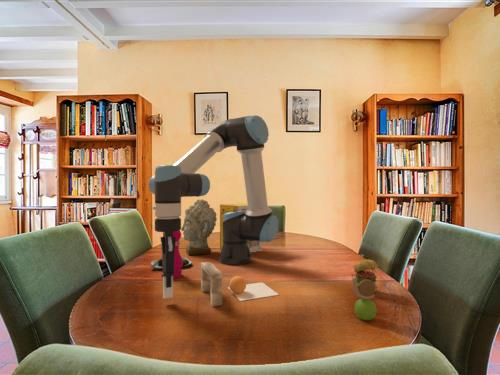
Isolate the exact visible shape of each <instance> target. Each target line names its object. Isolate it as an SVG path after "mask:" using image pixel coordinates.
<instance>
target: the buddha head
mask: <svg viewBox="0 0 500 375" xmlns="http://www.w3.org/2000/svg"><path fill="white" fill-rule="evenodd" d="M210 206H211V205H210V204H209V203H208V201H207V200H204V199H197V200H196V201H195V202H194V204H193V205H189V207H188V208H186V209H185V211H184V213H185V214H184V215H185V216H184V219H183V224H182V225H181V230H180V231H182V232H183V233H182V234H183V239H184V241H187V242H188V243H189V244H186V245H185V246H186V248H185V252H186V254H187V255H188V256H196V255H210V254H212V248H210V246H209V244H208V238H210V236H211V235H212V234H213V231H214V229H215V227H216V224H217V223H216V222H217V220H218V218H217V213H216V211H215V209H214V208H213V207H210Z"/></svg>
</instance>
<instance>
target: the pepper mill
mask: <svg viewBox="0 0 500 375" xmlns="http://www.w3.org/2000/svg"><path fill="white" fill-rule="evenodd" d="M173 236H174V237H175V238H176V243H175V245H176V247H175V257H174V275H173V279H179V278H180V277H182V274H183V273H182V272H183V271H182V269H181V268H182V266H183V261H182V258H183V257H182V256H181V254H180V247H179V246H180V245H181V243H180V242H181V241H180V239H181V238H182V232H181V230H179V231H174V232H173Z"/></svg>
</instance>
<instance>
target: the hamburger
mask: <svg viewBox="0 0 500 375" xmlns="http://www.w3.org/2000/svg"><path fill="white" fill-rule="evenodd" d="M364 256H365V255H364V254H362V253H360V257H361V259H362V260H360V261H358V262H357V263H356V264H355V265H354V267H353V268H354V269H353V270H354V271H353V272H354V273H355V274H354V276H355V278H356V279H357V286H358V284H359V283H360V282H361V281H362V280H365V279H367V280H371V281H372V282H373V283H374V285H375V292H374V293H373V294H375V293H376V291H378V285H377V284H376V283H377V278H378V275H376V274H375V272H376V269H377V268H379V265H378V263H377V262H376V261H375V260H373V259H363V257H364Z"/></svg>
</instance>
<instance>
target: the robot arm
mask: <svg viewBox="0 0 500 375" xmlns="http://www.w3.org/2000/svg"><path fill="white" fill-rule="evenodd" d="M269 135H270V134H269V128H268V125H267V123H266V121H265V120H264V119H263V117H261V116H260V115H246V116H242V117H241V116H239V117H236V118H229V119H226V120H224V121H222V122H220V123H219V124H217V125H215V126H214V127H212V129H210V130H208V132H206V133H205V135H204V137H203V139H202V140H201V141H199V143H197V144H196V145H195V146H194V147H192V148H191V149H190V150H189V151H188V152H187V153H186V154H184V155H183V156H182V157H181V158H180V159H179V160H177V161H176V162H175V163H173V164H172V165H171V164H165V165H164V164H162V165H161V164H159V165H156V167H155V168H154V175H152V176H151V178H149V181H148V189H149V192H151V193H152V194H153V195H154V206H152V210H153V211H154V216H155V217H156V218H155V219H154V231H155V232H156V233H162V236H160V243H161V246H160V247H161V255H162V256H161V258H162V264H163V267H162V270H163V271H162V273H161V278H162V292H163V293H162V298H163V299H170V298H173V297H174V278H173V275H174V257H175V247H176V245H175V243H176V238H175V237H174V236H173V232H174V231H179V230H180V231H182V230H181V228H182V219H181V216H182V198H187V197H189V198H191V197H198V198H199V197H204V196H206V195H207V194H209V191H210V189H211V180H210V179H209V177H208V176H207V175H206V174H204V173H203V174H202V173H199V172H198V171H199V170H200V168H202V167H203V166H204V165H205V164H206V163H207V162H208V161H209V160H210V159H212V157H214V156H215V154H217V153H221V152H222V151H223V150H225V149H227V148H231V147H236V151H237V152H238V153H239V154H240V155H241V156H240V157H241V163H242V171H243V172H242V173H243V177H244V178H243V179H244V187H245V195H246V201H247V203H246V204H248V210H247V211H238V212H229V213H225V214H224V215H223V246H222V249H221V250H220V252H219V256H218V257H219V258H218V260H219V261H218V262H220V263H221V264H225V265H231V266H232V265H235V266H237V265H246V264H249V263H251V262H252V260H253V258H252V257H253V256H252V253H251V252H250V249H249V246H248V240H253V241H260V242H262V243H270V242H272V241H273V240H274V239H275V238H276V236H277V234H278V232H279V225H280V224H279V223H280V222H279V218H278V217H277V216H276V215H274V214H273V210H272V208H271V207H269V205H268V197H267V188H266V181H265V173H264V164H263V163H264V162H263V155H262V151H263V150H264V149H265V143H267V142H268V140H269ZM196 172H198V173H196Z"/></svg>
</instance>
